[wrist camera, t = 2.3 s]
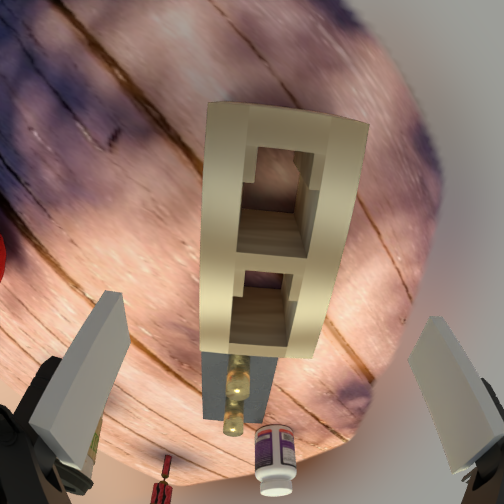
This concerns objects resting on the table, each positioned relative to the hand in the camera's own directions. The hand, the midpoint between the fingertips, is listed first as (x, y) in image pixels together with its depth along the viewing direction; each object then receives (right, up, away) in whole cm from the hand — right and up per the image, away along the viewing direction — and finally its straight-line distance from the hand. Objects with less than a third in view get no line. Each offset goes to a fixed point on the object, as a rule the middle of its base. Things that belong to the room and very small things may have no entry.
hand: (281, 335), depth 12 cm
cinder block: (0, +6, +11) cm, 13 cm away
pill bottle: (+2, -22, +27) cm, 35 cm away
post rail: (-3, -8, +19) cm, 21 cm away
